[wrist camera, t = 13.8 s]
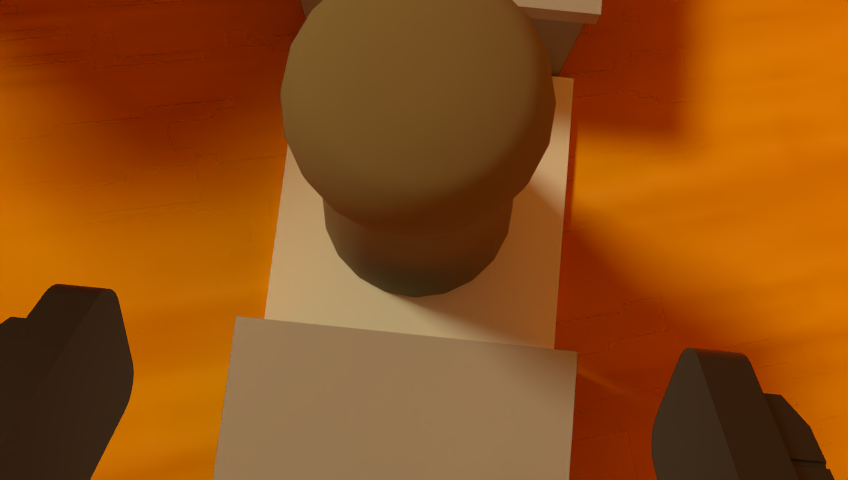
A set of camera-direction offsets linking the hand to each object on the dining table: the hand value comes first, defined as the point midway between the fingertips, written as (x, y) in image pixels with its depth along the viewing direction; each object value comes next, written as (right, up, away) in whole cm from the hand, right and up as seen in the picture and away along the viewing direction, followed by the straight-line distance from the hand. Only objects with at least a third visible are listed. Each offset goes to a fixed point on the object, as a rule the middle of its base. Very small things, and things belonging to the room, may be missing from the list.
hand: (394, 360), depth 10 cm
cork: (0, +3, +13) cm, 13 cm away
